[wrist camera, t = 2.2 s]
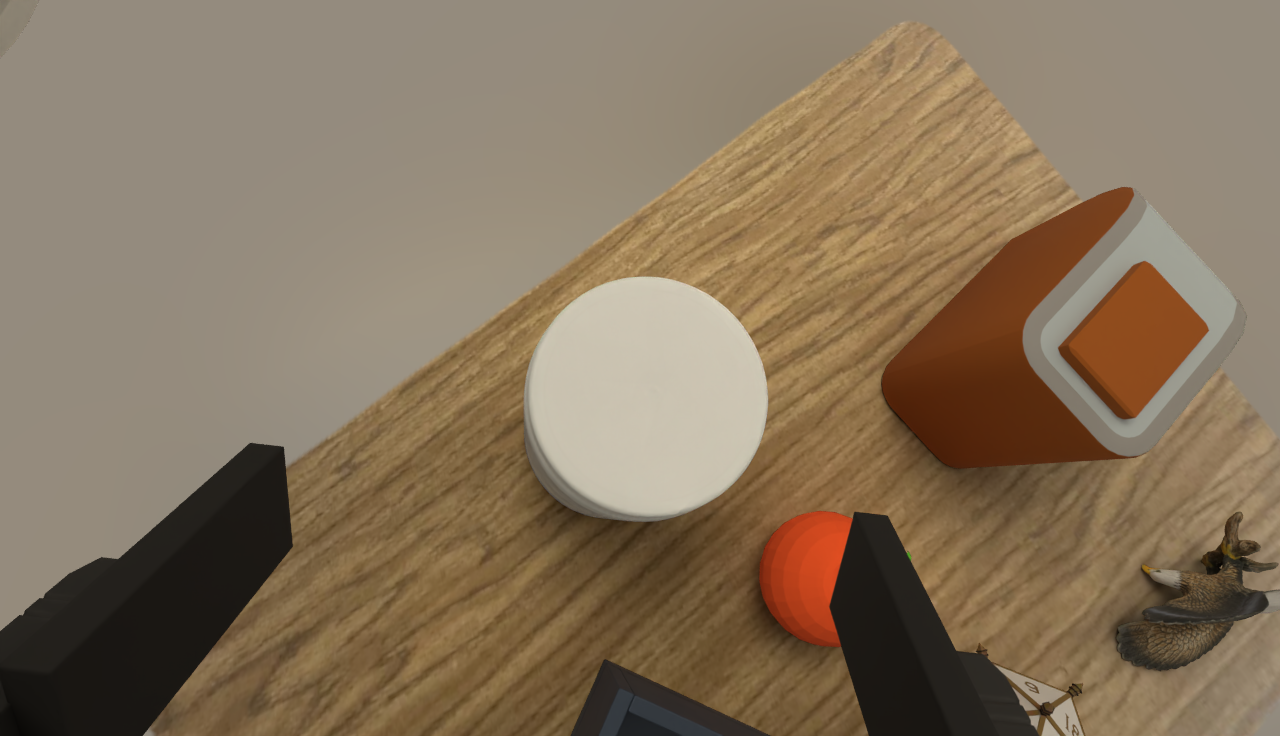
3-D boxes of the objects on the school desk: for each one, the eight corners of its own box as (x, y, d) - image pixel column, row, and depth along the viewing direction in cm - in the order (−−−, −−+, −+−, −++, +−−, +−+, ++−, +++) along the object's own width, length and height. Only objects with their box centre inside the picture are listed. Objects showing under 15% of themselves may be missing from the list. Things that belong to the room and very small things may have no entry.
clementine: (848, 488, 43) (911, 486, 36) (888, 602, 42) (961, 623, 35) (726, 532, 41) (768, 539, 34) (765, 651, 40) (816, 684, 33)
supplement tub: (685, 520, 41) (774, 533, 26) (517, 514, 39) (514, 524, 25) (689, 354, 42) (775, 282, 28) (528, 342, 41) (532, 260, 27)
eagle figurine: (1159, 490, 45) (1101, 598, 41) (1312, 527, 39) (1262, 656, 35) (1166, 567, 48) (1114, 673, 45) (1307, 611, 43) (1261, 735, 39)
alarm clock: (960, 486, 44) (1150, 482, 31) (867, 383, 44) (1015, 335, 31) (1098, 333, 47) (1321, 270, 34) (1011, 238, 47) (1199, 139, 34)
